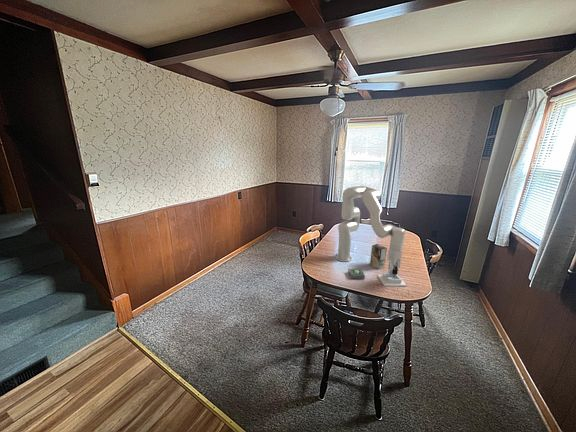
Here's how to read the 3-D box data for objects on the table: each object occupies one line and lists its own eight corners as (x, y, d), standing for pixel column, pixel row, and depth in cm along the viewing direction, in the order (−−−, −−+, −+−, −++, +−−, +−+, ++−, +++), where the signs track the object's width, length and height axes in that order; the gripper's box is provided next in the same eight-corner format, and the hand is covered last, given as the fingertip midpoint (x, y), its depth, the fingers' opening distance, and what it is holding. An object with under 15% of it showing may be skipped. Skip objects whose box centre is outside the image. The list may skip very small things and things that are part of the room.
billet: (387, 271, 154) (388, 260, 152) (394, 271, 154) (396, 261, 151) (390, 275, 149) (391, 264, 147) (397, 275, 149) (399, 264, 147)
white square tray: (377, 276, 159) (378, 271, 158) (397, 276, 159) (398, 271, 158) (384, 286, 147) (384, 281, 146) (405, 286, 147) (406, 281, 146)
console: (348, 272, 163) (348, 268, 163) (360, 272, 163) (361, 269, 162) (351, 279, 155) (351, 275, 154) (364, 279, 155) (364, 275, 154)
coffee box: (385, 267, 171) (387, 247, 166) (379, 269, 168) (381, 249, 163) (375, 262, 178) (377, 243, 174) (369, 264, 175) (371, 245, 171)
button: (352, 274, 161) (353, 269, 160) (357, 274, 161) (358, 269, 160) (354, 276, 157) (354, 272, 156) (359, 277, 157) (359, 272, 156)
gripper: (385, 241, 154) (382, 265, 159) (396, 252, 138) (392, 278, 143) (396, 241, 154) (392, 265, 159) (408, 252, 138) (404, 278, 143)
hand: (392, 271), depth 151 cm, fingers closed on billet, 5 cm apart
